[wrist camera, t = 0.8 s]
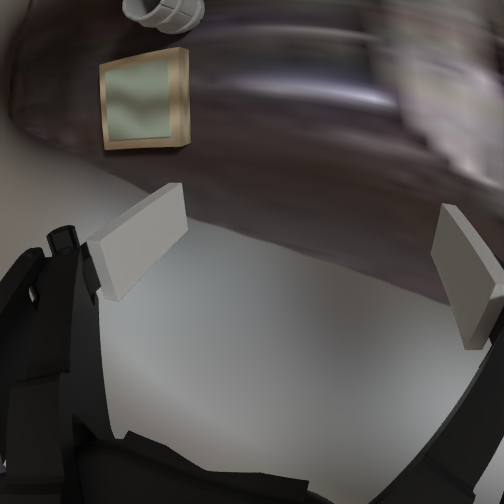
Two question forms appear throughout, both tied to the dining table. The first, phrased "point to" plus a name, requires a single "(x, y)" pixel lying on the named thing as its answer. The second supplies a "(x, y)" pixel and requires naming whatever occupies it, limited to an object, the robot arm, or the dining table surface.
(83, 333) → the robot arm
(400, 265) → the dining table surface
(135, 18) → the mug
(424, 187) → the dining table surface
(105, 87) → the stand
